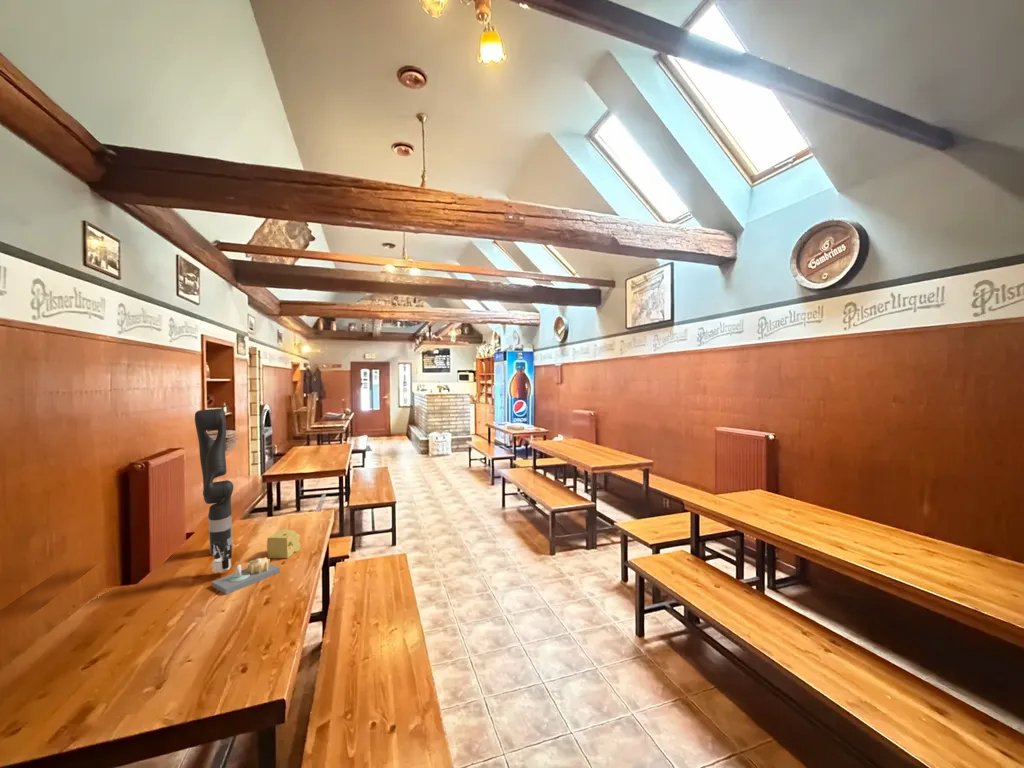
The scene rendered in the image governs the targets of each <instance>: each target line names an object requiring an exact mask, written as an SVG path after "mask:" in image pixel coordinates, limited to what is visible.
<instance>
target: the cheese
mask: <svg viewBox="0 0 1024 768" xmlns="http://www.w3.org/2000/svg"><path fill="white" fill-rule="evenodd" d="M300 539H301V535H300V534H299V533H297V532H296V531H295V530H293V529H287V528H286V529H284V528H283V529H279V530H277V531H276V532H275V533H274V534H272V535H269V536H268V537H267V540H266V549H267V559H289V558H290V557H291V556H293V555H294V553H295V554H296V553H298V552H299V551H301V549H302V548H301V547H302V544H301V542H300Z"/></svg>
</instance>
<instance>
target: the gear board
mask: <svg viewBox="0 0 1024 768" xmlns="http://www.w3.org/2000/svg"><path fill="white" fill-rule="evenodd" d="M280 571H281V568H280V567H279V566H276V565H275V564H272V563H271V558H268V556H267V557H266V556H265V557H258V558H256V559H253V560H250V561H249V563H247V568H244V569H242V565H241V564H238V565H236V571H235V572H234V573H231V574H228V575H226V576H222V577H221V578H218V579H215V580H212V581H211V587H212V588H213V589H216V590H217V591H219V592H221V593H223V594H225V595H228V594H230V593H231V594H232V593H233V592H235V591H238V590H240V589H242V588H246V587H248V586H250V585H253V584H255V583H258V582H260V581H262V580H265V579H267V578H270V577H271V576H275V575H277V574H279V573H281V572H280Z"/></svg>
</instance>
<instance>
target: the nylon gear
mask: <svg viewBox="0 0 1024 768" xmlns="http://www.w3.org/2000/svg"><path fill="white" fill-rule="evenodd" d="M231 568H232V558H230V559H229V567H228V568H226V569H223V568H222V558H221V557H220V558H219V559H215V560H214V559H213V561H211V569H212V572H213V573H214V574H215V573H216V574H217V573H223V572H225V571H228V570H230V569H231Z"/></svg>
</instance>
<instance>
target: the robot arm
mask: <svg viewBox="0 0 1024 768" xmlns="http://www.w3.org/2000/svg"><path fill="white" fill-rule="evenodd" d="M194 424H195V430H196V434H197V439H198V446H199V447H198V449H199V461H200V466H201V467H200V468H201V474H202V486H203V487H202V488H203V490H202V495H203V500H204V502H205V504H207V505H210V506H209V507H208V514H207V516H208V535H209V536H208V539H209V554H210V555H212V556H213V558H214V559H213V561H214V560H215V559H219V558H220V557H221V558H222V568H223V569H226V568H228V567H229V559H230V558H231V559H232V558H233V557H232V554H233V552H232V551H233V549H234V546H233V545H234V544H233V542H234V541H233V522H232V521H233V517H232V515H233V514H232V496H233V491H234V484H233V482H232V481H231V480H229V479H228V480H227V479H226V480H220V481H214V480H215V479H216V478H219V477H222V476H225V475H226V474H227V470H228V469H227V460H226V443H227V441H226V440H227V437H226V436H227V417H226V413H225V410H224V409H223V408H212V409H211V408H210V409H209V408H208V409H200V410H197V411H195V412H194ZM215 430H217V435H216V438H215V440H214V439H212V437H211V436H210V435H209V433H208V432H207V431H215Z"/></svg>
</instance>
